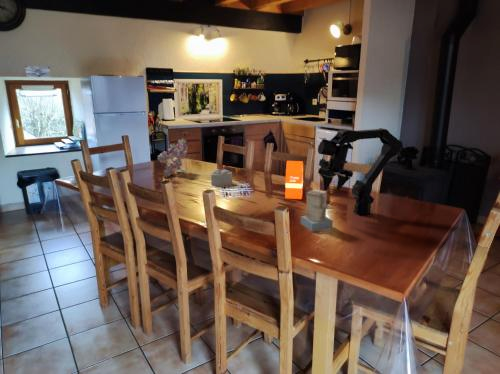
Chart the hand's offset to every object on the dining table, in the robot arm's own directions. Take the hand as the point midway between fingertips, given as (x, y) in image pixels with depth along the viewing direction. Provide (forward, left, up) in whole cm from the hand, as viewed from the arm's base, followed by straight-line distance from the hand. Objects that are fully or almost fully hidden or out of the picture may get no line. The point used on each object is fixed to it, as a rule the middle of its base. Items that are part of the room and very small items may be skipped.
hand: (331, 190), depth 169 cm
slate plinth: (+11, +9, -13) cm, 20 cm away
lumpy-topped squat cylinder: (+39, -71, -13) cm, 82 cm away
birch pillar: (+12, +9, -9) cm, 17 cm away
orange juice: (+5, -34, -13) cm, 36 cm away
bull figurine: (-1, -22, -13) cm, 25 cm away
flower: (+66, -104, -13) cm, 124 cm away
